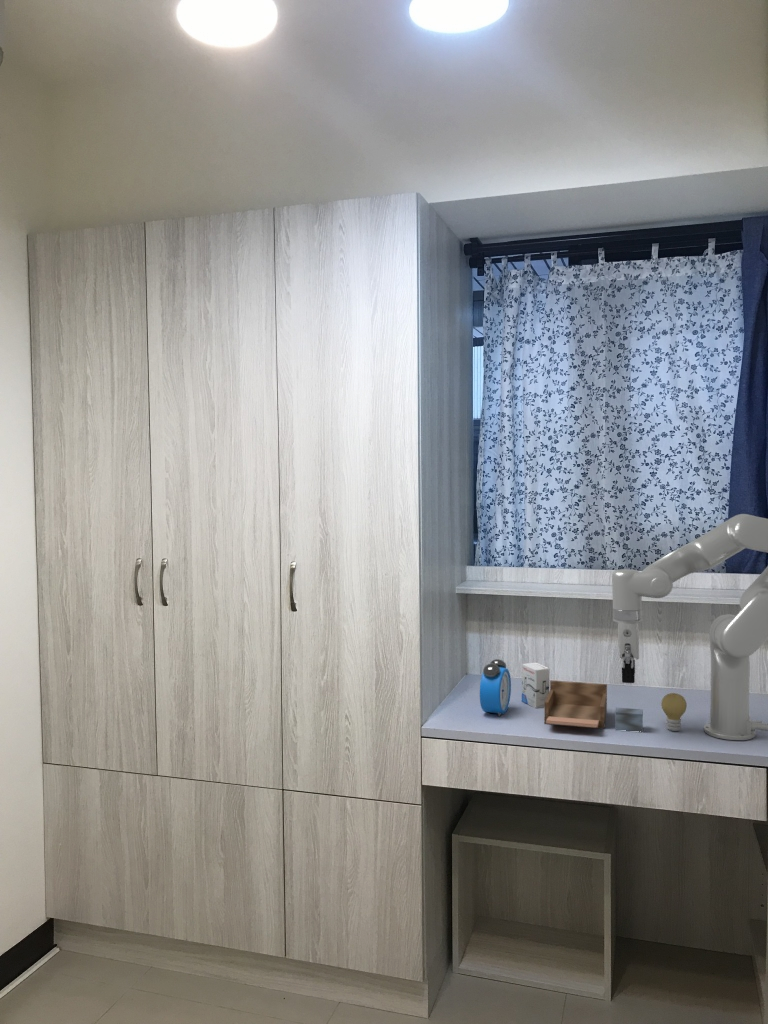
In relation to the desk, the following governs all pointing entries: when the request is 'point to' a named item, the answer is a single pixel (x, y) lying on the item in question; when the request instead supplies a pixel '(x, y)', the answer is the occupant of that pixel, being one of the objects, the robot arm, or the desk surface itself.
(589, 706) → the brown open box
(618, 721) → the blue gray block
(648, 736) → the desk surface
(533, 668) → the ink box
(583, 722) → the panel
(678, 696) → the light bulb
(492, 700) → the alarm clock
